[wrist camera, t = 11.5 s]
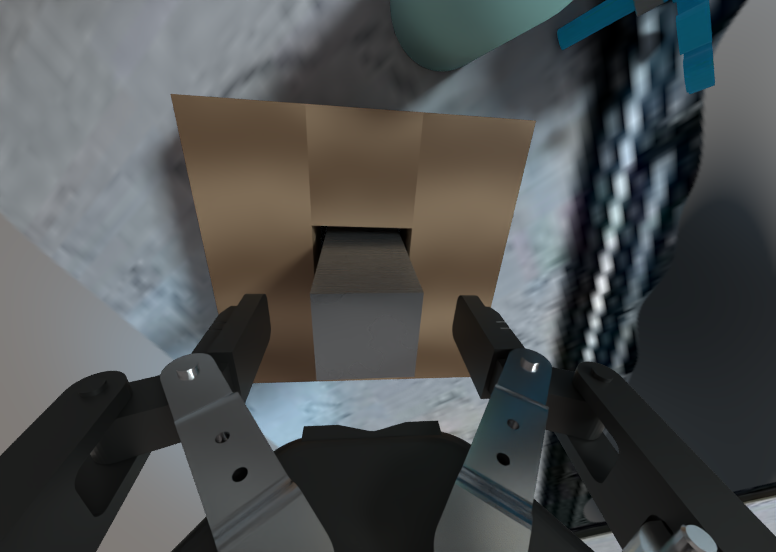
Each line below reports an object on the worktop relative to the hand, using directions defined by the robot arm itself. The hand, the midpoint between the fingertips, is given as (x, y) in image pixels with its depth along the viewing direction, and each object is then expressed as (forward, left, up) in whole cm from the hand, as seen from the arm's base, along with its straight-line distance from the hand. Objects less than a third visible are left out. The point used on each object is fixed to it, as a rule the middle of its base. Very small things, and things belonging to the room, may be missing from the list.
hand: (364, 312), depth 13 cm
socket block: (0, 0, -8) cm, 8 cm away
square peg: (0, 0, -8) cm, 8 cm away
